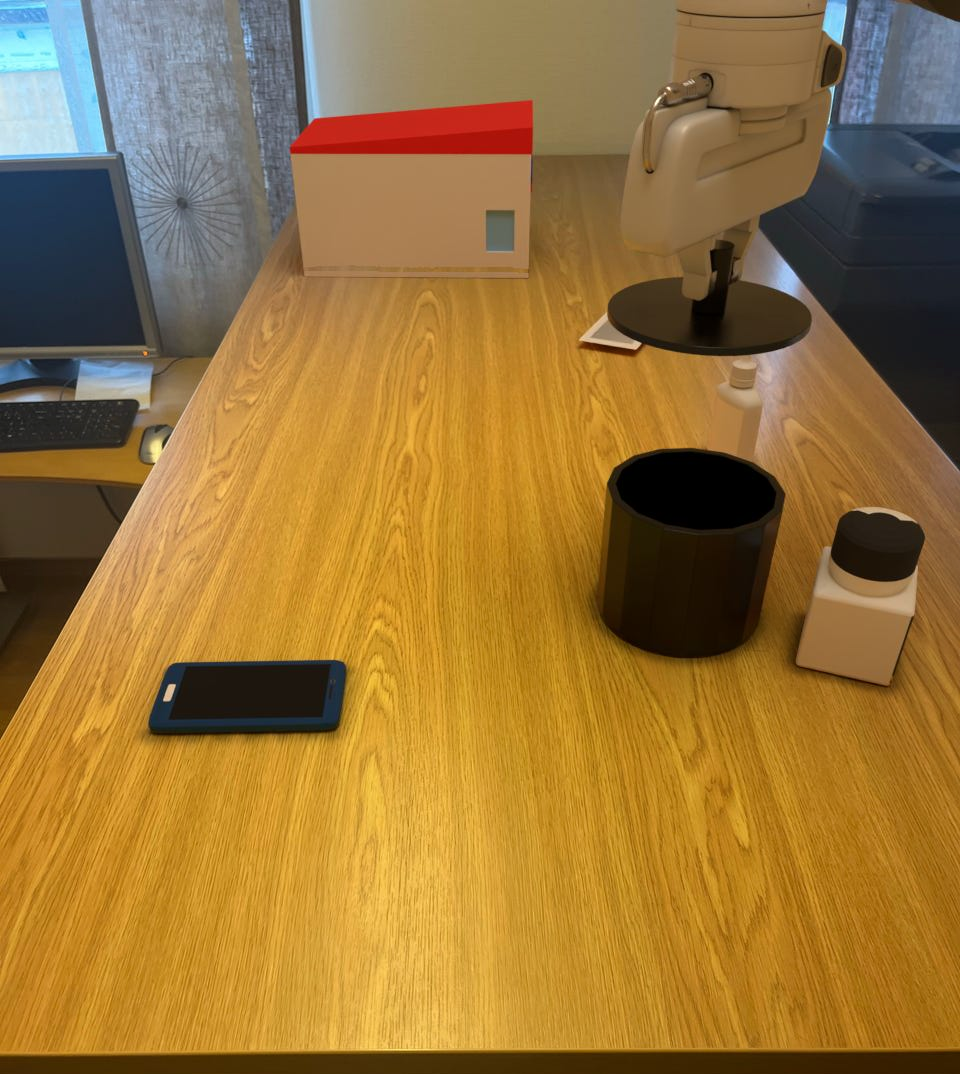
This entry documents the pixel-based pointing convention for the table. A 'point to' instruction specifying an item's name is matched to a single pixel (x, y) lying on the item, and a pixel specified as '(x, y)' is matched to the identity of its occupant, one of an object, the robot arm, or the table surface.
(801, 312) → the tin lid
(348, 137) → the bookstore
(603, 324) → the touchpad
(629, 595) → the tin
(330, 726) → the cell phone
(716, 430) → the eye dropper bottle
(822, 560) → the medicine bottle
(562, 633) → the table surface
